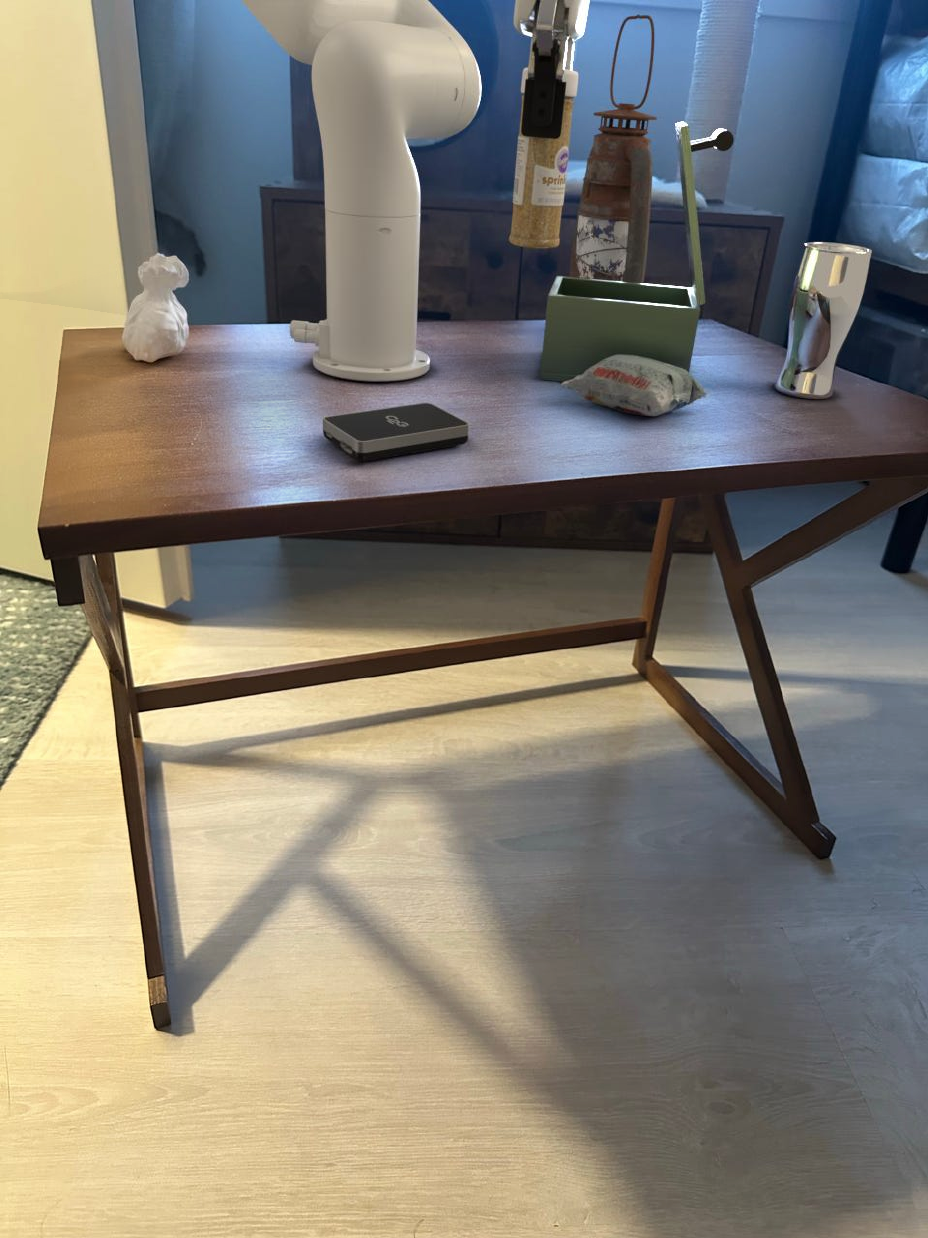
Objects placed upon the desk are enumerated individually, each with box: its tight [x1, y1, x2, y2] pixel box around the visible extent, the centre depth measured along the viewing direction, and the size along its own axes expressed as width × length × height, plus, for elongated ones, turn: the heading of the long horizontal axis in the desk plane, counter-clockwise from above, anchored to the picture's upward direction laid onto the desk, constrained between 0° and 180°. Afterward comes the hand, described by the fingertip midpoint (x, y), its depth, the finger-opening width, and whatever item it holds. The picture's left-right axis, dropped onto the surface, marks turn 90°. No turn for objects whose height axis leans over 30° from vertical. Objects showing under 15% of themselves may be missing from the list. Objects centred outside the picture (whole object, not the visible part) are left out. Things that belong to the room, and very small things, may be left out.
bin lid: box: [675, 121, 735, 306], centre depth 95 cm, size 16×12×5 cm
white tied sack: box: [121, 252, 190, 363], centre depth 98 cm, size 12×8×11 cm
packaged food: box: [560, 354, 708, 417], centre depth 91 cm, size 9×12×5 cm
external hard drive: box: [322, 402, 470, 462], centre depth 79 cm, size 7×11×2 cm, turn 124°
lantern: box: [569, 13, 658, 284], centre depth 111 cm, size 11×16×35 cm
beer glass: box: [775, 241, 873, 400], centre depth 99 cm, size 7×7×15 cm
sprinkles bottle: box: [508, 66, 579, 250], centre depth 78 cm, size 5×5×14 cm
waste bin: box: [539, 275, 701, 383], centre depth 102 cm, size 16×12×9 cm
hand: (544, 133), depth 77 cm, fingers closed on sprinkles bottle, 4 cm apart
